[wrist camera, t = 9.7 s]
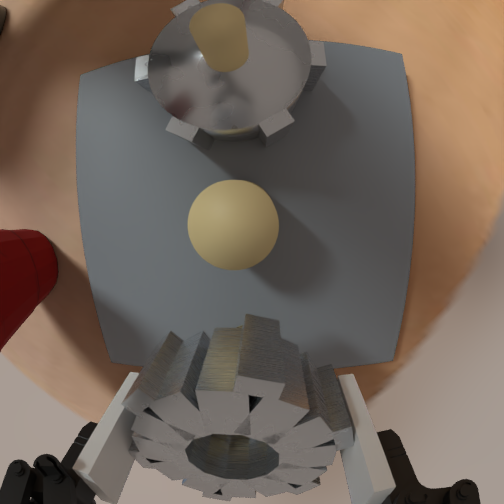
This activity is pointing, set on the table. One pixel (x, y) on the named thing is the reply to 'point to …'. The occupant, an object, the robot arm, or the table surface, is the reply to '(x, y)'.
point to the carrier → (251, 209)
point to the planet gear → (237, 412)
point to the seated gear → (232, 76)
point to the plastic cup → (23, 277)
